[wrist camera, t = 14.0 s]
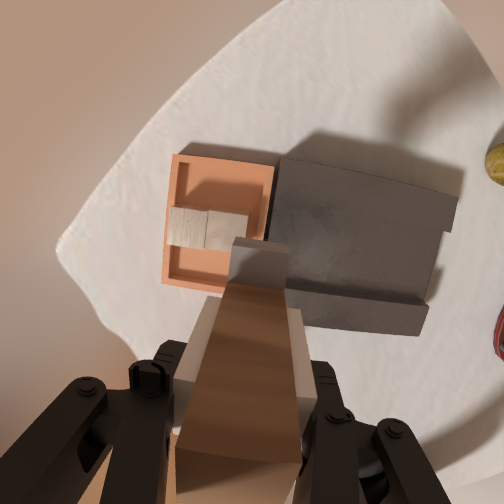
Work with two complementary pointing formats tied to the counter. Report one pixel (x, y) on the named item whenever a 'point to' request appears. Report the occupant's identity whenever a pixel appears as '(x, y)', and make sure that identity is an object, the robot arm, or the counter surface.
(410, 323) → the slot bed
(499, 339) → the hourglass
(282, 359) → the brown upright block
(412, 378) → the counter surface
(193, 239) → the beige cube
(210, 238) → the wooden cube
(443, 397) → the counter surface
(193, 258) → the tray
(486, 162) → the vegetable
